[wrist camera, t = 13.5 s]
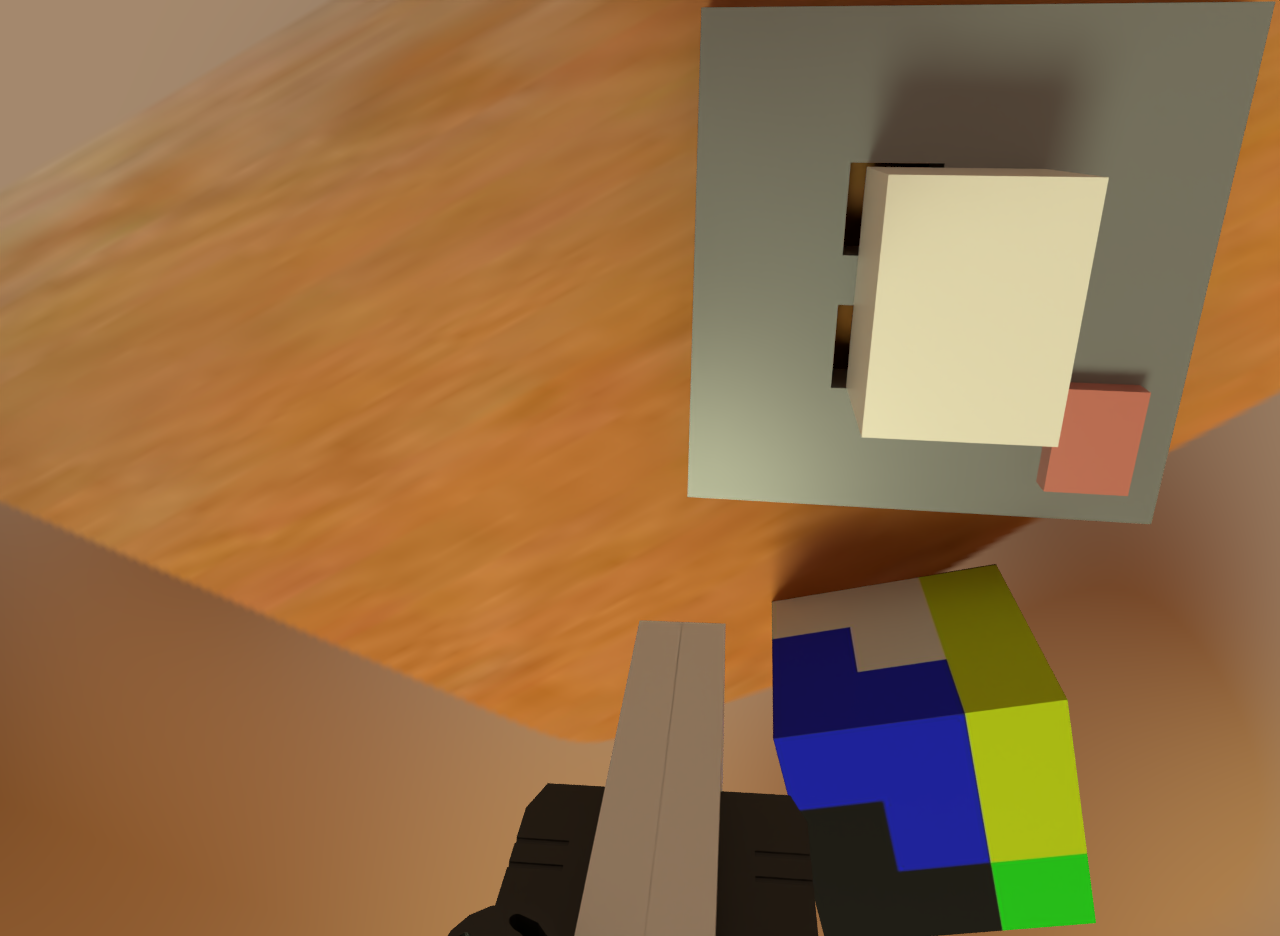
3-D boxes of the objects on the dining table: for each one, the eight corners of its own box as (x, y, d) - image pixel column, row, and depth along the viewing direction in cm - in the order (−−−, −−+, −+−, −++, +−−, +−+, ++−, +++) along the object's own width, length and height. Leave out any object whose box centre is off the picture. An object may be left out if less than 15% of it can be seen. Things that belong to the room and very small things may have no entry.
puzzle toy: (771, 601, 41) (773, 738, 32) (995, 563, 39) (1067, 699, 29) (814, 773, 44) (826, 944, 35) (1023, 747, 42) (1095, 922, 33)
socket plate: (693, 470, 39) (685, 506, 35) (707, 17, 32) (699, 3, 29) (1122, 494, 37) (1161, 535, 33) (1228, 13, 30) (1292, -3, 27)
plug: (839, 367, 36) (861, 437, 28) (858, 163, 34) (888, 174, 25) (990, 373, 36) (1058, 447, 27) (1022, 165, 33) (1108, 177, 24)
